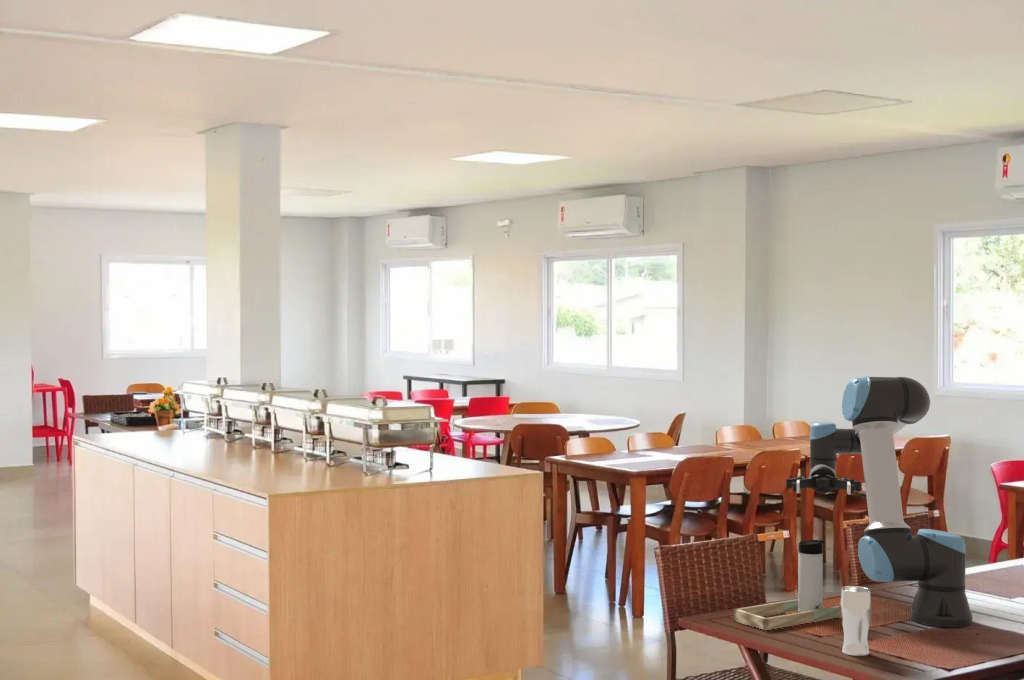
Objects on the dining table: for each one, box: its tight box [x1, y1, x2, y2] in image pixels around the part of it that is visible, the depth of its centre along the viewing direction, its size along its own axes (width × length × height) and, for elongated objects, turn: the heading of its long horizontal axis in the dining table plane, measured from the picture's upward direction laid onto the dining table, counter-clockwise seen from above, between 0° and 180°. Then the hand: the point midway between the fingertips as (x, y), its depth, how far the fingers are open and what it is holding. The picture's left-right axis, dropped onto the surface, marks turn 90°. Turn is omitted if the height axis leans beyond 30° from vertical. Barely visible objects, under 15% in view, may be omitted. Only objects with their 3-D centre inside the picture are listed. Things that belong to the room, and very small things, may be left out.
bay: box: [733, 598, 841, 631], centre depth 303 cm, size 12×26×3 cm, turn 120°
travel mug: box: [797, 539, 825, 612], centre depth 307 cm, size 6×7×20 cm
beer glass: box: [839, 585, 872, 657], centre depth 273 cm, size 7×7×15 cm
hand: (823, 488), depth 319 cm, fingers open, 13 cm apart
